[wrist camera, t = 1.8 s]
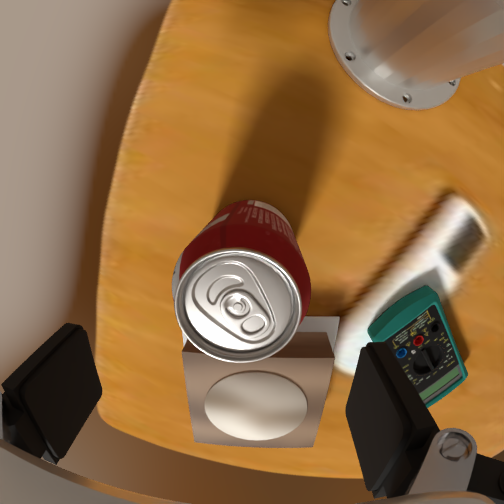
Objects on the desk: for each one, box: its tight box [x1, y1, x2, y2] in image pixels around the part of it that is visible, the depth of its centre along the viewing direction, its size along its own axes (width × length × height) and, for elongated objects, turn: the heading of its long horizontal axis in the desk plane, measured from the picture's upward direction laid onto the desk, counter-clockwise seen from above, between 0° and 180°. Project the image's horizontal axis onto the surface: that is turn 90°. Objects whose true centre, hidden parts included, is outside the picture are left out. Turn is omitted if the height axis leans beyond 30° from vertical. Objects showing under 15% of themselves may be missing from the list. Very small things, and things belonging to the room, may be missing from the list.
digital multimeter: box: [368, 286, 468, 408], centre depth 26 cm, size 7×15×3 cm, turn 38°
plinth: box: [182, 332, 335, 448], centre depth 26 cm, size 12×12×4 cm
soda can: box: [172, 200, 311, 363], centre depth 18 cm, size 7×7×12 cm
